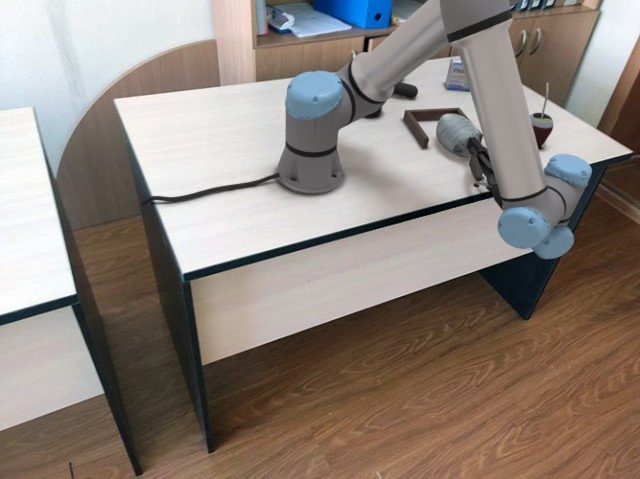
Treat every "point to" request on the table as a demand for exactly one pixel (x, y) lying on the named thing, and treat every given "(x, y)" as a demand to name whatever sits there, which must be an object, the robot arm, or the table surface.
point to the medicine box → (456, 76)
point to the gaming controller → (405, 90)
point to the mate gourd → (542, 124)
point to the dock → (425, 115)
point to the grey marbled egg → (456, 134)
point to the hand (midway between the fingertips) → (470, 142)
